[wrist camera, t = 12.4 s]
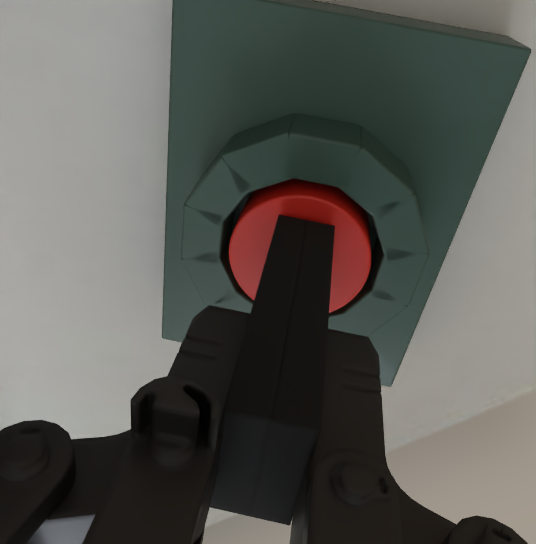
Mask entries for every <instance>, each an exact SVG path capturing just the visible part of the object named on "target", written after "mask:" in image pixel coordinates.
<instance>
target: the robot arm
mask: <svg viewBox="0 0 536 544" xmlns="http://www.w3.org/2000/svg"><path fill="white" fill-rule="evenodd" d="M334 233H335V226H334V225H329V224H324V223H319V222H314V221H309V220H304V219H299V218H294V217H289V216H284V215H278V219H277V222H276V226H275V229H274V233H273V236H272V240H271V243H270V247H269V250H268V254H267V257H266V261H265V264H264V268H263V271H262V275H261V278H260V282H259V285H258V289H257V292H256V296H255V299H254V303H253V306H252V310H251V313H245V312H240V311H235V310H231V309H226V308H221V307H216V306H212V305H208V306H207V307H206V308H204V309H203V310H202V311H201V312H200V313H198V314H197V315H196V316H195V317H193V319H192V322H191V324H190V326H189V328H188V331H187V333H186V336H185V338H184V340H183V342H182V344H181V347H180V349H179V353H177V356H176V358H175V360H174V363H173V365H172V367H171V369H170V372H169V374H168V376H167V377H163V378H159V379H154V380H153V381H151V382H149V383H148V384H146V385H144V386H143V387H141V388H140V389H139V390H138V391H137V393H136V394H135V395H134V396H133V398H132V399H131V429H130V430H128V431H126V432H123V433H120V434H118V435H112V436H107V437H97V438H84V439H71V438H70V436H69V433H68V432H67V431H65V430H64V429H63V428H62V427H60V426H59V425H58V424H55V423H51V422H47V421H43V420H35V421H23V422H20V423H17V424H14V425H12V426H9V427H6V428H4V429H3V430H1V431H0V544H202V541H203V534H204V527H205V522H206V519H207V515H208V511H209V507H211V508H216V509H220V510H224V511H229V512H233V513H238V514H242V515H246V516H251V517H255V518H260V519H264V520H268V521H273V522H278V523H282V524H286V525H290V523H291V520H292V528H291V538H290V544H527V542H526V541H525V540H523V539H522V538H521V537H520V536H519V535H518V534H517V533H516V532H515V531H514V530H513V529H511V528H510V527H508V526H506V525H504V524H502V523H500V522H498V521H496V520H495V519H492V518H486V517H481V516H473V517H469V518H465V519H462V520H461V521H460V522H459V523H458V524H457V525H456V524H454V523H453V522H451V521H449V520H447V519H445V518H443V517H441V516H440V515H438V514H436V513H434V512H432V511H431V510H428V509H427V508H425V507H423V506H422V505H420V504H419V503H417V502H416V501H414V500H413V499H411V498H410V497H409V496H408V495H407V494H406V493H405V492H404V491H403V490H402V489H401V488H400V487H399V486H398V484H397V483H396V481H395V479H394V478H393V476H392V475H391V473H390V471H389V469H388V466H387V462H386V457H385V445H384V429H383V413H382V397H381V380H380V364H379V355H378V353H377V351H376V349H375V348H374V346H373V344H372V342H371V341H370V339H369V337H367V336H362V335H357V334H352V333H348V332H343V331H338V330H333V329H328V320H329V305H330V291H331V276H332V262H333V247H334ZM292 517H293V519H292Z"/></svg>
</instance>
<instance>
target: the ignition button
mask: <svg viewBox="0 0 536 544" xmlns="http://www.w3.org/2000/svg"><path fill="white" fill-rule="evenodd" d="M278 215H284V216H289V217H294V218H299V219H304V220H309V221H314V222H319V223H324V224H329V225H334V226H335V233H334V247H333V262H332V276H331V291H330V305H329V313H330V312H333V311H335V310H337V309H339V308H341V307H343V306H344V305H346V304H347V303H349V302H350V301H351V300H352V299H353V298H354V297H355V296H356V295H357V294H358V293H359V292H360V290H361V289H362V288H363V286H364V284H365V282H366V280H367V278H368V275H369V272H370V268H371V244H370V228H369V221H368V216H367V214H366V211H365V210H364V209H363V208H362V207H361V206H360V205H358V204H357V203H356V202H355V201H354V200H352V199H351V198H350V197H349V196H348V195H347V194H345V193H344V192H343V191H342V190H341V189H339V188H338V187H334V186H329V185H324V184H319V183H314V182H309V181H304V180H299V179H294V178H293V179H290V180H287V181H283V182H280V183H277V184H274V185H271V186H267V187H264V188H261V189H258V190H255V191H254V192H253V193H252V194H251V195H250V197H249V198H248V200H247V201H246V203H245V205H244V207H243V209H242V212H241V214H240V216H239V219H238V221H237V223H236V226H235V228H234V230H233V233H232V236H231V238H230V244H229V261H230V265H231V269H232V272H233V274H234V277H235V279H236V280H237V282H238V284H239V285H240V287H241V288H242V289H243V291H244V292H245V293H246V294H247V295H248V296H249V297H250V298H252V299H253V300H254V299H255V296H256V292H257V289H258V285H259V282H260V278H261V275H262V271H263V268H264V264H265V261H266V257H267V254H268V250H269V247H270V243H271V240H272V236H273V233H274V229H275V226H276V222H277V219H278Z"/></svg>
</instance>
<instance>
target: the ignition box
mask: <svg viewBox="0 0 536 544" xmlns="http://www.w3.org/2000/svg"><path fill="white" fill-rule="evenodd" d="M530 53H531V49H530V48H529V47H527V46H525V45H523V44H521V43H519V42H517V41H516V40H514V39H512V38H510V37H508V36H504V35H499V34H493V33H488V32H482V31H477V30H471V29H466V28H460V27H455V26H449V25H444V24H439V23H433V22H428V21H422V20H417V19H411V18H406V17H400V16H395V15H389V14H384V13H378V12H373V11H367V10H362V9H357V8H351V7H346V6H340V5H335V4H329V3H324V2H318V1H313V0H173V9H172V40H171V71H170V102H169V132H168V163H167V194H166V225H165V256H164V287H163V318H162V338H164V339H169V340H173V341H178V342H183V340H184V338H185V336H186V333H187V331H188V328H189V326H190V324H191V322H192V319H193V317H195V316H196V315H197V314H198V313H200V312H201V311H202V310H203V309H204V308H206V307H207V306H208V305H212V306H216V307H221V308H226V309H231V310H235V311H240V312H245V313H251V310H252V306H253V303H254V300H253V299H252V298H250V297H249V296H248V295H247V294H246V293H245V292H244V291H243V289H242V288H241V287H240V285H239V284H238V282H237V280H236V279H235V277H234V274H233V272H232V269H231V265H230V261H229V244H230V238H231V236H232V233H233V230H234V228H235V226H236V223H237V221H238V219H239V216H240V214H241V212H242V209H243V207H244V205H245V203H246V201H247V200H248V198H249V197H250V195H251V194H252V193H253V192H254V191H255V190H258V189H261V188H264V187H267V186H271V185H274V184H277V183H280V182H283V181H287V180H290V179H293V178H294V179H299V180H304V181H309V182H314V183H319V184H324V185H329V186H334V187H338V188H339V189H341V190H342V191H343V192H344V193H345V194H347V195H348V196H349V197H350V198H351V199H352V200H354V201H355V202H356V203H357V204H358V205H360V206H361V207H362V208H363V209H364V210H365V211H366V214H367V216H368V221H369V228H370V244H371V268H370V272H369V275H368V278H367V280H366V282H365V284H364V286H363V288H362V289H361V290H360V292H359V293H358V294H357V295H356V296H355V297H354V298H353V299H352V300H351V301H350V302H349V303H347V304H346V305H344V306H343V307H341V308H339V309H337V310H335V311H333V312H330V313H329V320H328V329H333V330H338V331H343V332H348V333H352V334H357V335H362V336H367V337H369V339H370V341H371V342H372V344H373V346H374V348H375V349H376V351H377V353H378V355H379V364H380V380H381V385H384V386H388V387H391V385H392V383H393V381H394V378H395V376H396V374H397V371H398V369H399V366H400V364H401V362H402V359H403V357H404V355H405V352H406V350H407V347H408V345H409V343H410V340H411V338H412V335H413V333H414V331H415V328H416V326H417V323H418V321H419V319H420V316H421V314H422V311H423V309H424V307H425V304H426V302H427V300H428V297H429V295H430V292H431V290H432V288H433V285H434V283H435V280H436V278H437V276H438V273H439V271H440V268H441V266H442V264H443V261H444V259H445V256H446V254H447V252H448V249H449V247H450V245H451V242H452V240H453V237H454V235H455V233H456V230H457V228H458V225H459V223H460V221H461V218H462V216H463V213H464V211H465V209H466V206H467V204H468V201H469V199H470V197H471V194H472V192H473V190H474V187H475V185H476V182H477V180H478V178H479V175H480V173H481V170H482V168H483V166H484V163H485V161H486V158H487V156H488V154H489V151H490V149H491V146H492V144H493V142H494V139H495V137H496V135H497V132H498V130H499V127H500V125H501V123H502V120H503V118H504V115H505V113H506V111H507V108H508V106H509V103H510V101H511V99H512V96H513V94H514V91H515V89H516V87H517V84H518V82H519V80H520V77H521V75H522V72H523V70H524V68H525V65H526V63H527V60H528V58H529V56H530Z"/></svg>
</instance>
